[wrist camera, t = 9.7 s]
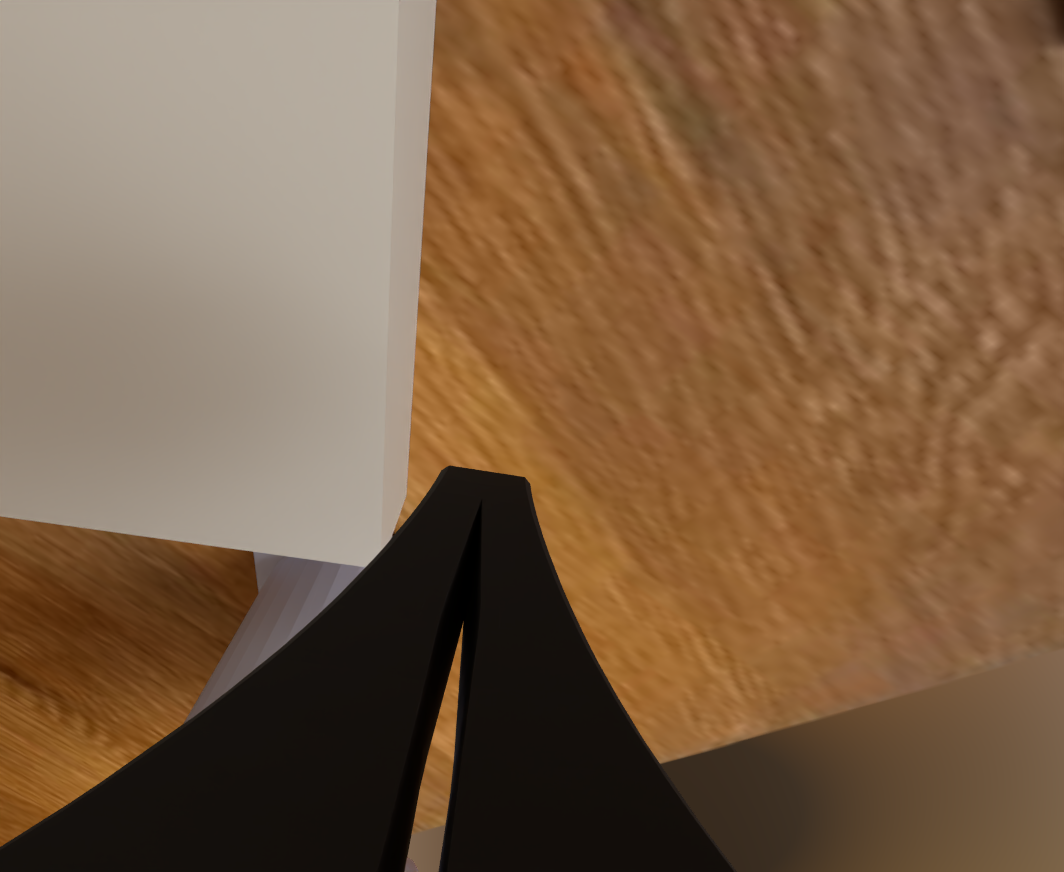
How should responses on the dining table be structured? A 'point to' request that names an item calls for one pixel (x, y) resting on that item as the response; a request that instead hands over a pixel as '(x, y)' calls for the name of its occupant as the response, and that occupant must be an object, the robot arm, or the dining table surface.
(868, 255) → the dining table surface
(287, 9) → the deck
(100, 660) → the dining table surface
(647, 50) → the dining table surface
